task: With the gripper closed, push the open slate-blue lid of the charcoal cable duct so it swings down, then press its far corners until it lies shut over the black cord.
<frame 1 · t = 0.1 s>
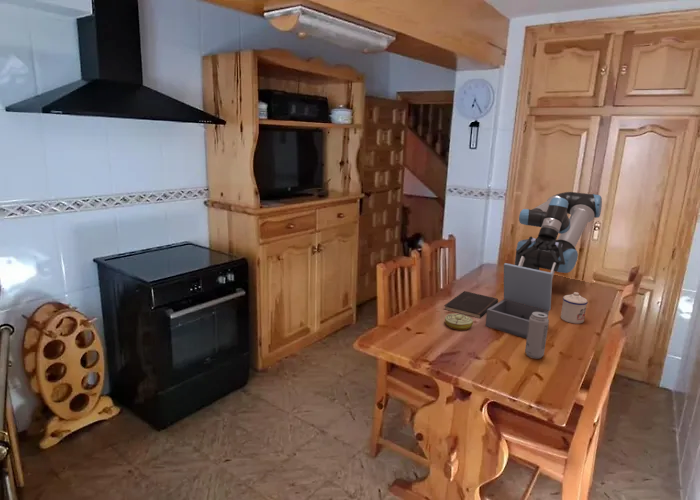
hand: (534, 274, 194), 15 cm above the table, tool tilted 35°, fingers open, 13 cm apart
energy drink can: (533, 355, 155), on the table
hardcover book: (471, 307, 198), on the table
cable duct: (515, 326, 178), on the table
teacup with lid: (573, 319, 187), on the table
olive round disc: (458, 326, 178), on the table
duct lid: (526, 286, 179), point 15 cm above the table, hinge at 75.0°
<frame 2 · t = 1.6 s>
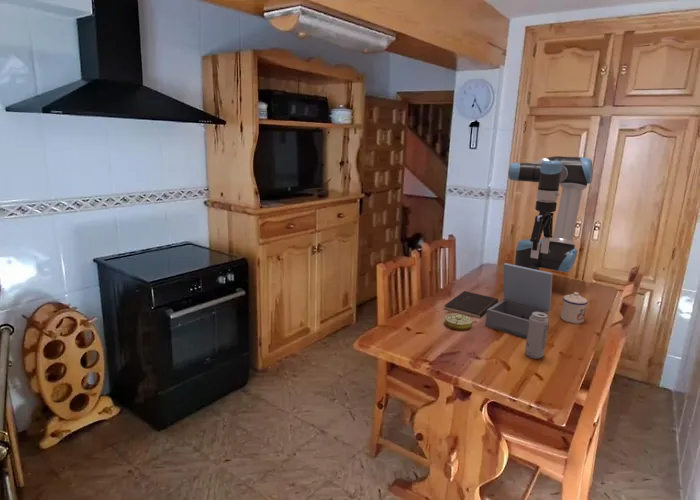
hand: (539, 255, 183), 26 cm above the table, tool pointing down, fingers open, 10 cm apart
nothing on the table moved.
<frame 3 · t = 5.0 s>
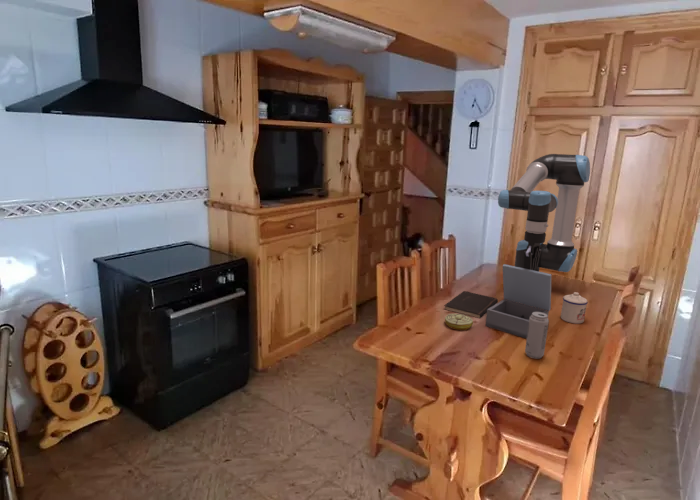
hand: (528, 289, 180), 13 cm above the table, tool pointing down, fingers closed
duct lid: (526, 287, 178), point 15 cm above the table, hinge at 71.1°, touching gripper, hand
everything else where it was.
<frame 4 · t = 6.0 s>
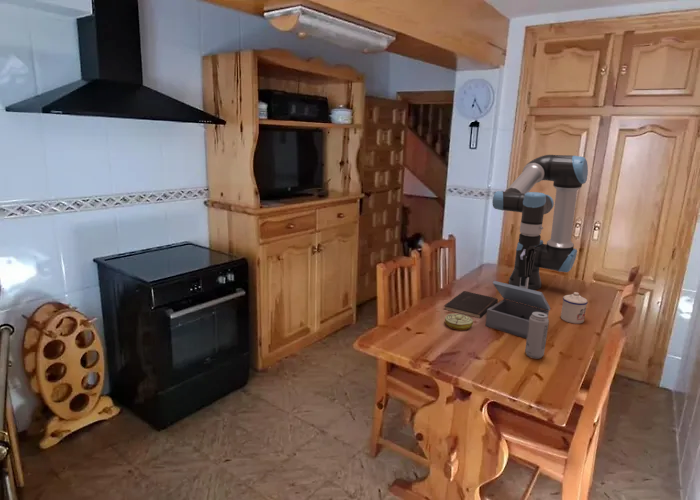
hand: (522, 292, 176), 13 cm above the table, tool pointing down, fingers closed
duct lid: (521, 295, 176), point 12 cm above the table, hinge at 37.1°, touching gripper
everything else where it was.
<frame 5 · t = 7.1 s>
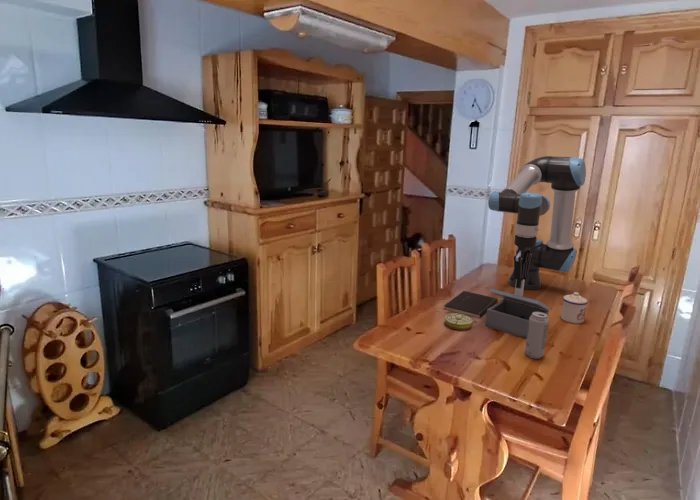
hand: (518, 295, 173), 13 cm above the table, tool pointing down, fingers closed
duct lid: (520, 299, 176), point 11 cm above the table, hinge at 25.0°, touching gripper
everything else where it was.
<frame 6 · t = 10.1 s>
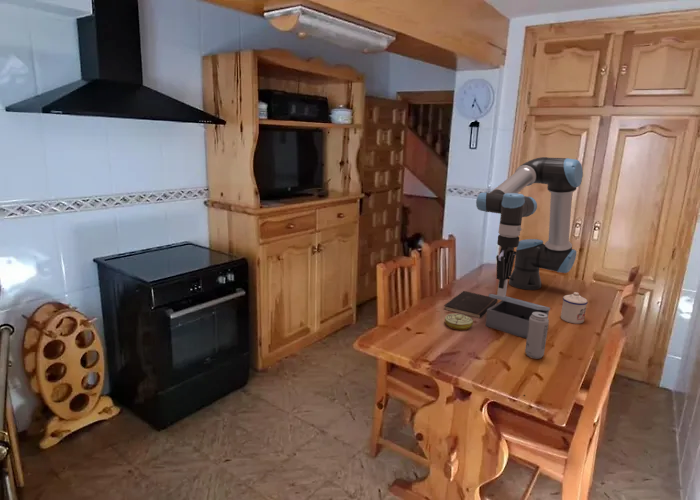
hand: (501, 295, 174), 13 cm above the table, tool pointing down, fingers closed
duct lid: (519, 302, 175), point 10 cm above the table, hinge at 17.8°, touching gripper
everything else where it was.
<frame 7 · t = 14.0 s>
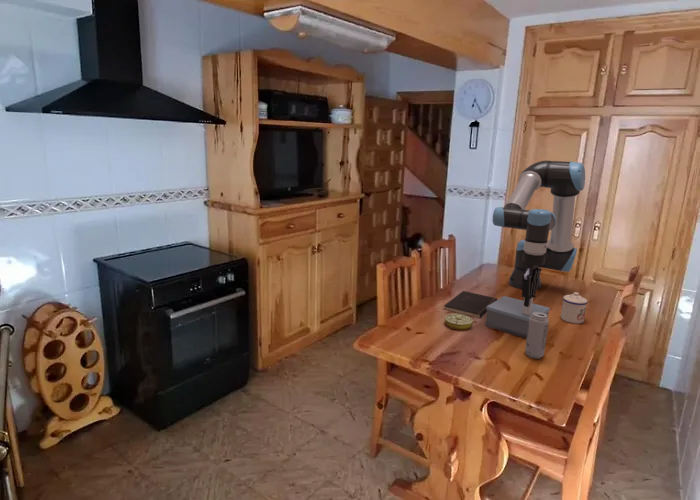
hand: (526, 313, 169), 8 cm above the table, tool pointing down, fingers closed
duct lid: (518, 308, 176), point 8 cm above the table, hinge at -0.1°, touching gripper
everything else where it was.
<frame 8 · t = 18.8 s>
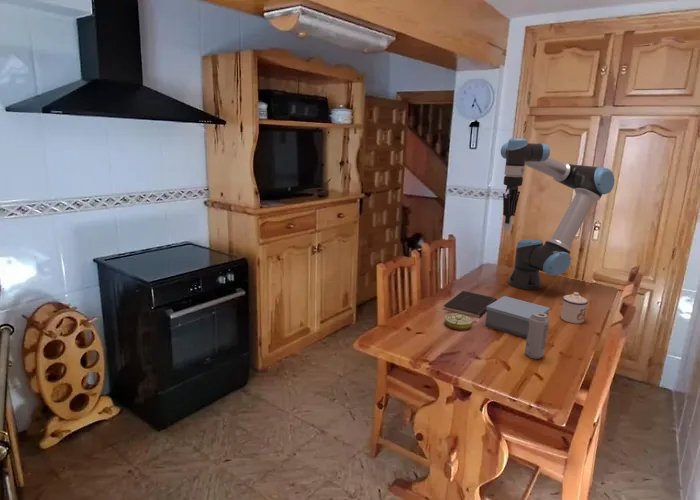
hand: (507, 230, 197), 32 cm above the table, tool pointing down, fingers closed
duct lid: (518, 308, 176), point 8 cm above the table, hinge at -0.1°
everything else where it was.
at the end: duct lid at +0° (first picture: +75°) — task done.
